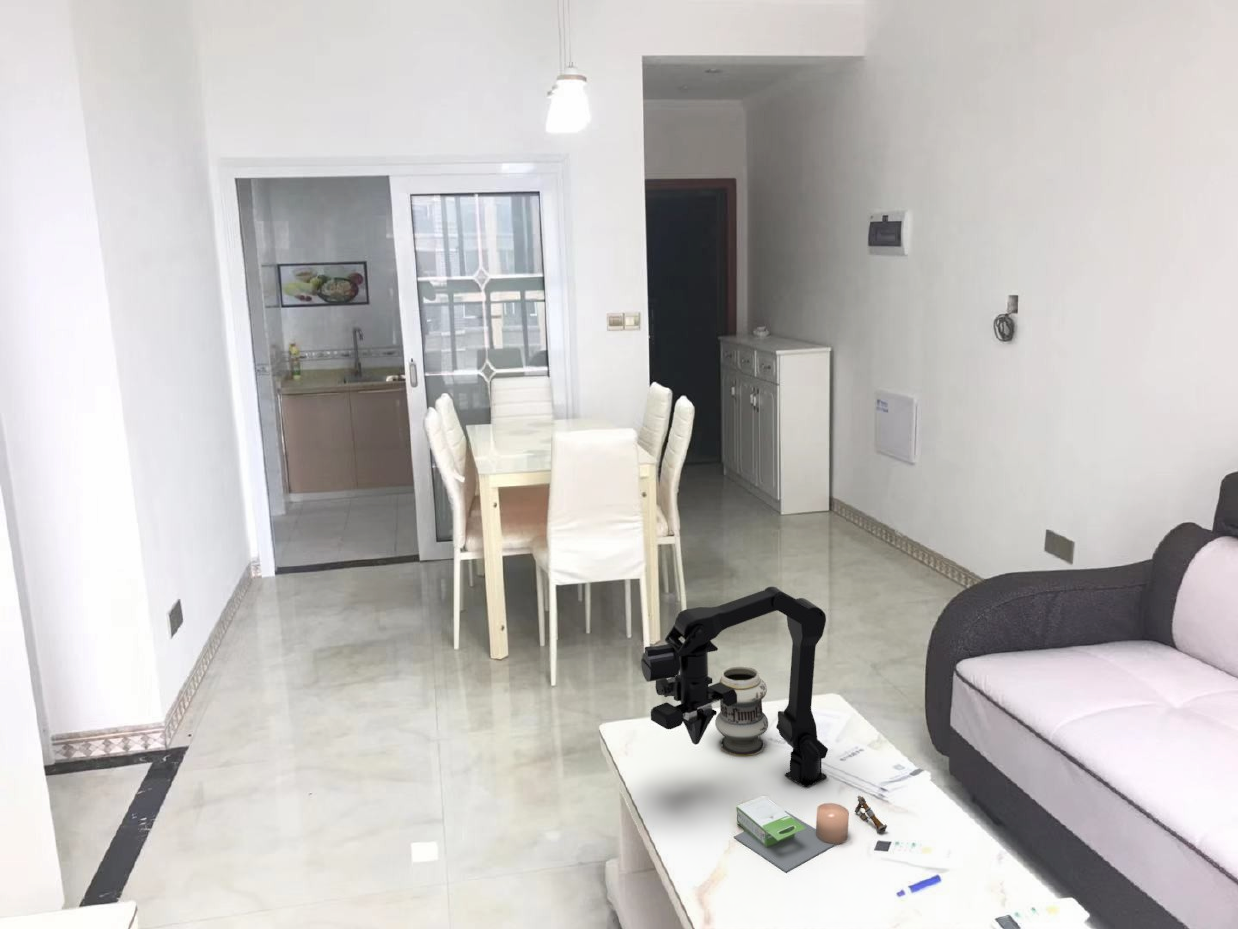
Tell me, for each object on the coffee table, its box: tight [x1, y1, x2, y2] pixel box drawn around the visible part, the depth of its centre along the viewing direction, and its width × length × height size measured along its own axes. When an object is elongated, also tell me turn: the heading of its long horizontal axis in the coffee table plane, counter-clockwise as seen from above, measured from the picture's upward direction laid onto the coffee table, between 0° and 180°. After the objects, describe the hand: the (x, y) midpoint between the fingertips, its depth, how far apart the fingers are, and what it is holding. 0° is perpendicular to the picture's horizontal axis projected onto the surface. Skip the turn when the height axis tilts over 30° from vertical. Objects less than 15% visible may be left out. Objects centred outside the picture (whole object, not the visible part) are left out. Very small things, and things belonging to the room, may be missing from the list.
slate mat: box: [733, 810, 838, 874], centre depth 187 cm, size 14×14×1 cm
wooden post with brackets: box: [854, 795, 888, 834], centre depth 192 cm, size 2×8×4 cm, turn 27°
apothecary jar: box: [714, 665, 769, 757], centre depth 222 cm, size 12×12×18 cm
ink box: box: [736, 795, 806, 847], centre depth 189 cm, size 7×4×13 cm
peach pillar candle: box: [815, 802, 850, 845], centre depth 188 cm, size 6×6×5 cm
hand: (695, 743), depth 199 cm, fingers closed
